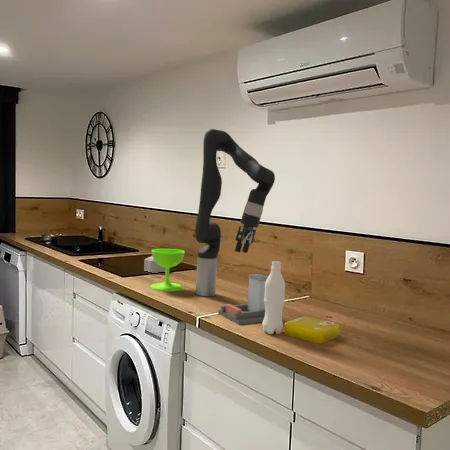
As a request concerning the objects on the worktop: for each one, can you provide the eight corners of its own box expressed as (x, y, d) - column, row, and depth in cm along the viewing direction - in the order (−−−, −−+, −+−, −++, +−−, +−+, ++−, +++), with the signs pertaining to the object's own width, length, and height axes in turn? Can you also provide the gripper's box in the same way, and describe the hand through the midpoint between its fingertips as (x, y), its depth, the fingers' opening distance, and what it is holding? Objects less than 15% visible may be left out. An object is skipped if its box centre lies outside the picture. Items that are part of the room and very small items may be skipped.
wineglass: (167, 293, 220) (168, 254, 218) (143, 287, 229) (144, 250, 228) (190, 288, 232) (191, 251, 231) (166, 283, 242) (167, 247, 241)
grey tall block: (246, 309, 190) (248, 274, 189) (258, 308, 193) (260, 273, 192) (258, 314, 183) (260, 278, 182) (269, 313, 185) (272, 277, 184)
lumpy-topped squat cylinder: (141, 271, 272) (142, 256, 271) (160, 269, 281) (160, 254, 280) (152, 274, 265) (153, 258, 264) (171, 272, 274) (171, 257, 273)
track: (218, 313, 188) (218, 302, 188) (256, 309, 197) (257, 299, 197) (238, 324, 174) (239, 312, 174) (279, 320, 183) (279, 308, 183)
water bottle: (266, 335, 163) (270, 263, 161) (259, 329, 169) (263, 259, 168) (285, 335, 164) (290, 263, 163) (277, 328, 171) (282, 260, 169)
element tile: (303, 326, 177) (304, 314, 177) (340, 336, 168) (341, 322, 168) (281, 334, 166) (282, 321, 166) (320, 345, 156) (321, 331, 156)
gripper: (249, 214, 205) (239, 250, 205) (237, 210, 192) (226, 248, 192) (265, 218, 202) (254, 255, 202) (254, 215, 189) (243, 254, 189)
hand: (241, 252), depth 197 cm, fingers open, 8 cm apart
